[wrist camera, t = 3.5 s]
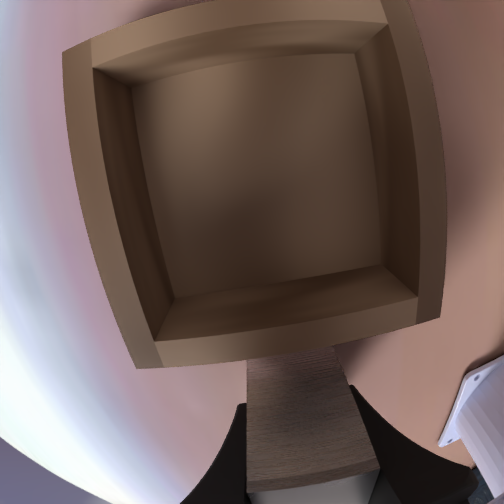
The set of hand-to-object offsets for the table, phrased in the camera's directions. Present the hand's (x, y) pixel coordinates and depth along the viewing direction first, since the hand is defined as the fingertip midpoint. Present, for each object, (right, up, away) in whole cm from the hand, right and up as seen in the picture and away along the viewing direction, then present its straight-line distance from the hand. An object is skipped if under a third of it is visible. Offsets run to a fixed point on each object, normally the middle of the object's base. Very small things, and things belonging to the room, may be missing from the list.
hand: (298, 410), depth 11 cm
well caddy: (-2, +10, -1) cm, 10 cm away
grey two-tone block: (0, +1, +2) cm, 2 cm away
